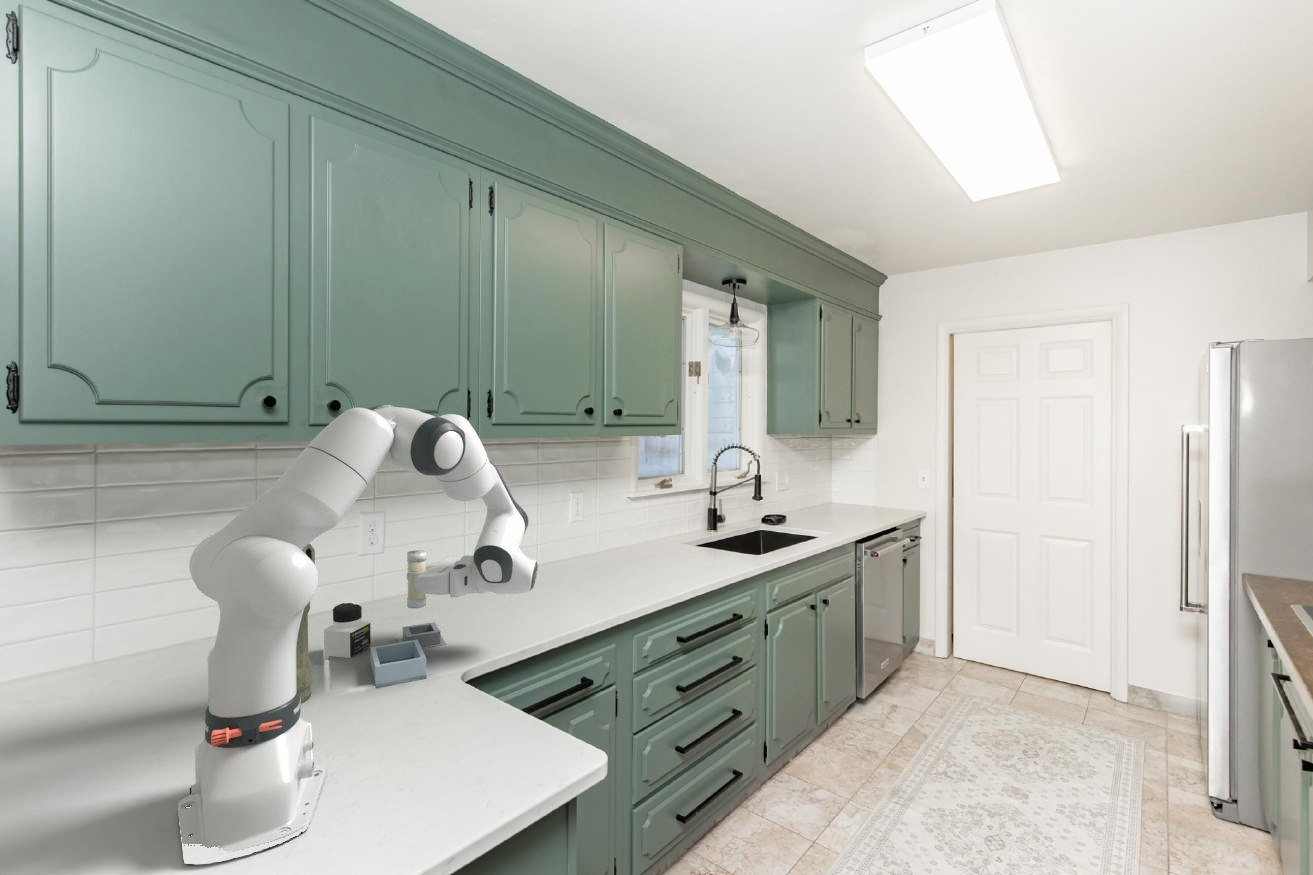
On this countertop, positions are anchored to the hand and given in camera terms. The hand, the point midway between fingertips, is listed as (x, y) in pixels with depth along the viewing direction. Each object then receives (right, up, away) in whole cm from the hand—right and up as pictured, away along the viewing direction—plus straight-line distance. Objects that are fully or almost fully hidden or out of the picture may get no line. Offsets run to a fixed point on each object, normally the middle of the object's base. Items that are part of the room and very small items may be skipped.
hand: (413, 572), depth 148 cm
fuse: (+1, -8, 0) cm, 8 cm away
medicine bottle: (-14, -19, -3) cm, 24 cm away
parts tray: (+2, -19, -13) cm, 23 cm away
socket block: (+1, -18, +3) cm, 19 cm away
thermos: (-15, -20, -26) cm, 36 cm away
